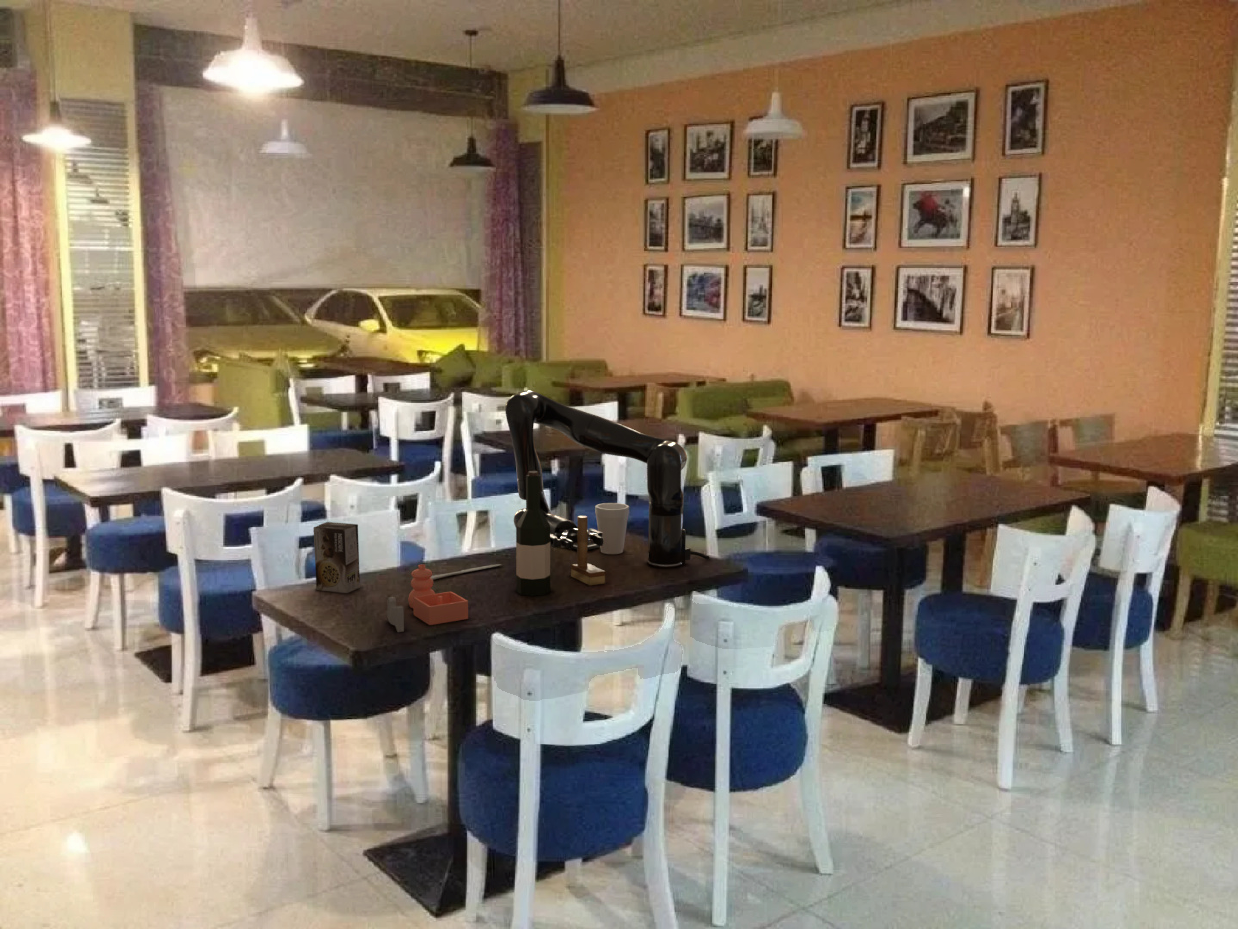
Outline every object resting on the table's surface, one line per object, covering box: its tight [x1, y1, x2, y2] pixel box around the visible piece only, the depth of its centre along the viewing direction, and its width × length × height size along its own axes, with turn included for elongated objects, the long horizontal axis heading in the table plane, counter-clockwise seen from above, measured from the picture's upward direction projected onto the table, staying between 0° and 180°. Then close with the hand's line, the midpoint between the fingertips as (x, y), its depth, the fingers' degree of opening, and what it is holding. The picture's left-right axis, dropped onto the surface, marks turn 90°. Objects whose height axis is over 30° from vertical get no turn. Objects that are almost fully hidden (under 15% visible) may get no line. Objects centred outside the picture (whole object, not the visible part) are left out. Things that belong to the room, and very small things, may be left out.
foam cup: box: [594, 502, 630, 555], centre depth 326 cm, size 10×9×13 cm
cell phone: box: [572, 543, 600, 551], centre depth 334 cm, size 8×15×1 cm, turn 43°
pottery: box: [407, 564, 469, 626], centre depth 268 cm, size 18×10×10 cm, turn 33°
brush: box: [570, 515, 606, 586], centre depth 296 cm, size 10×4×16 cm, turn 31°
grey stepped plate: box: [386, 596, 405, 633], centre depth 258 cm, size 6×1×10 cm
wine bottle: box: [515, 471, 551, 597], centre depth 284 cm, size 8×8×30 cm
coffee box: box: [312, 521, 361, 594], centre depth 285 cm, size 9×6×16 cm
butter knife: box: [430, 564, 502, 581], centre depth 303 cm, size 1×24×3 cm
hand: (587, 543), depth 297 cm, fingers open, 8 cm apart
